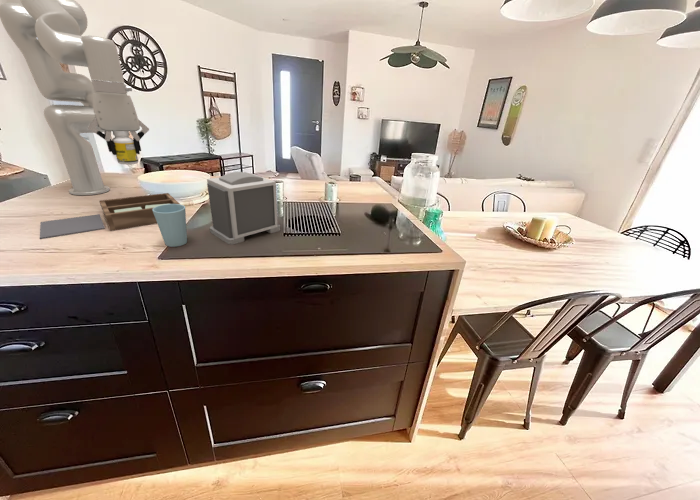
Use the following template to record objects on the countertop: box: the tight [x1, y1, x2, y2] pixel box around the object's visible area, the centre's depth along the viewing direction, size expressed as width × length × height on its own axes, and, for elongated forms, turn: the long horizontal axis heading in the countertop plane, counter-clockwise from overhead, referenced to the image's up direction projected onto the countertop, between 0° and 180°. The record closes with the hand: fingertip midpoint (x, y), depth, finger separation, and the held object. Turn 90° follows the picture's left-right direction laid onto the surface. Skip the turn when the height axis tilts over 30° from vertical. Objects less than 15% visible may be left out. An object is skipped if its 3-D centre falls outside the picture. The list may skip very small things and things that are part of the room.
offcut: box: [114, 207, 142, 213], centre depth 93 cm, size 4×7×4 cm, turn 132°
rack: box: [99, 192, 182, 232], centre depth 97 cm, size 16×20×5 cm
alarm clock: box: [206, 171, 281, 245], centre depth 91 cm, size 18×13×18 cm
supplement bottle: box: [111, 131, 139, 166], centre depth 91 cm, size 5×5×10 cm
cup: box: [152, 203, 188, 248], centre depth 81 cm, size 8×8×10 cm
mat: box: [39, 213, 106, 240], centre depth 88 cm, size 14×14×1 cm
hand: (126, 153), depth 92 cm, fingers closed on supplement bottle, 5 cm apart
